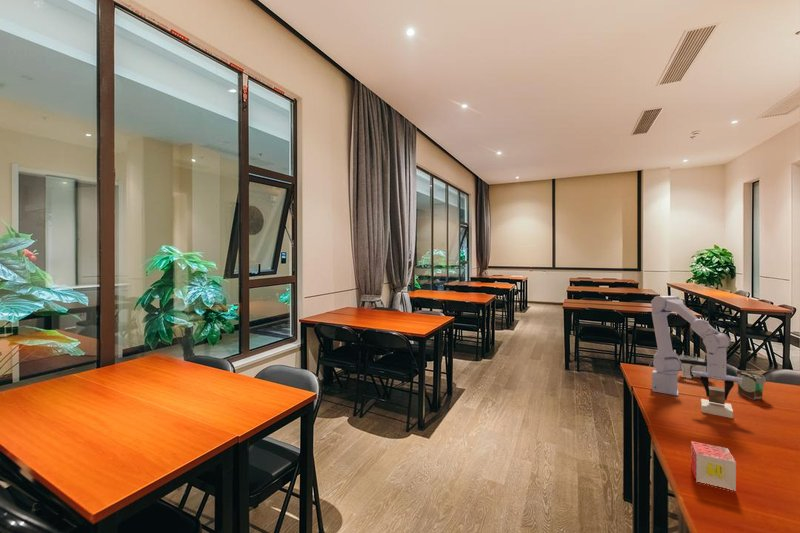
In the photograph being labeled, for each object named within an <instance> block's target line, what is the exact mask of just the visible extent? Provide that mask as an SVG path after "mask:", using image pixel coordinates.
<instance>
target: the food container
mask: <svg viewBox="0 0 800 533" xmlns="http://www.w3.org/2000/svg"><path fill="white" fill-rule="evenodd" d="M735 375H736V377H739V378H742V384H739V383H736V384H737V393H739V394H740V395H743V396H745V397H747V398H749V399H751V400H753V401H762V400H763V395H764V394H763V393H764V385H765V383H767V380H766V377H765V375H763V374H761V373H758V372H755V371H749V370H748V371H747V370H741V369H736V371H735Z"/></svg>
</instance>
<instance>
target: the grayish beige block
mask: <svg viewBox="0 0 800 533" xmlns="http://www.w3.org/2000/svg"><path fill="white" fill-rule="evenodd" d="M707 398H708V399H707V400H709V402H713V403H718V404H724V405H725V403H726V400H725V391H724V388H723V387H722V388H721V387H716V386H710V385H709V397H707Z"/></svg>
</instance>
